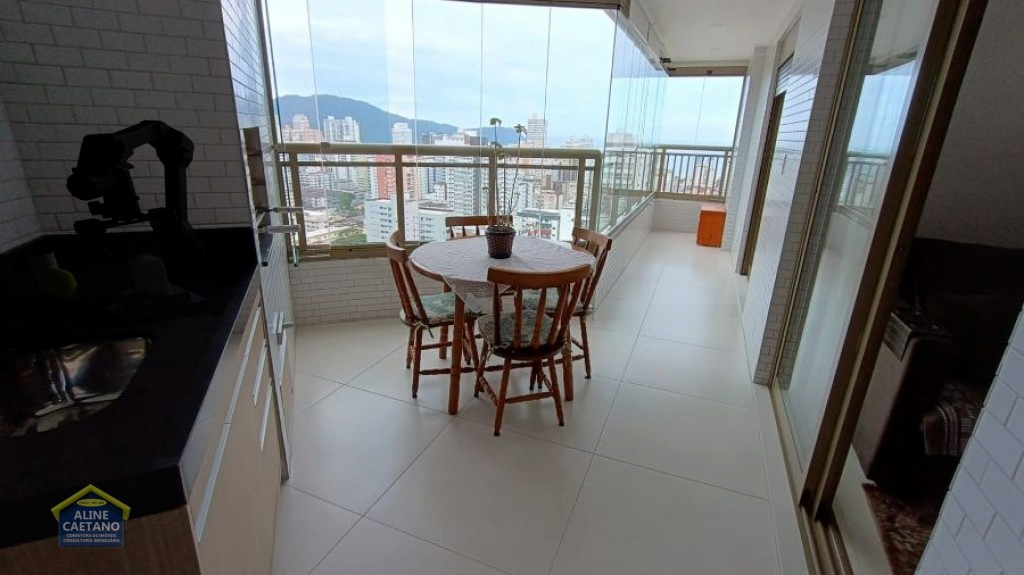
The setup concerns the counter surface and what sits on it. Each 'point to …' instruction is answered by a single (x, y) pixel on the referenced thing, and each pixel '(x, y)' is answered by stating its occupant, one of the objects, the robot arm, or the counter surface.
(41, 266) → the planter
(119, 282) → the counter surface
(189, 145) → the robot arm
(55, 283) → the lemon
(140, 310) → the plinth
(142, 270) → the medicine box
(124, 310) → the blueprint mat
